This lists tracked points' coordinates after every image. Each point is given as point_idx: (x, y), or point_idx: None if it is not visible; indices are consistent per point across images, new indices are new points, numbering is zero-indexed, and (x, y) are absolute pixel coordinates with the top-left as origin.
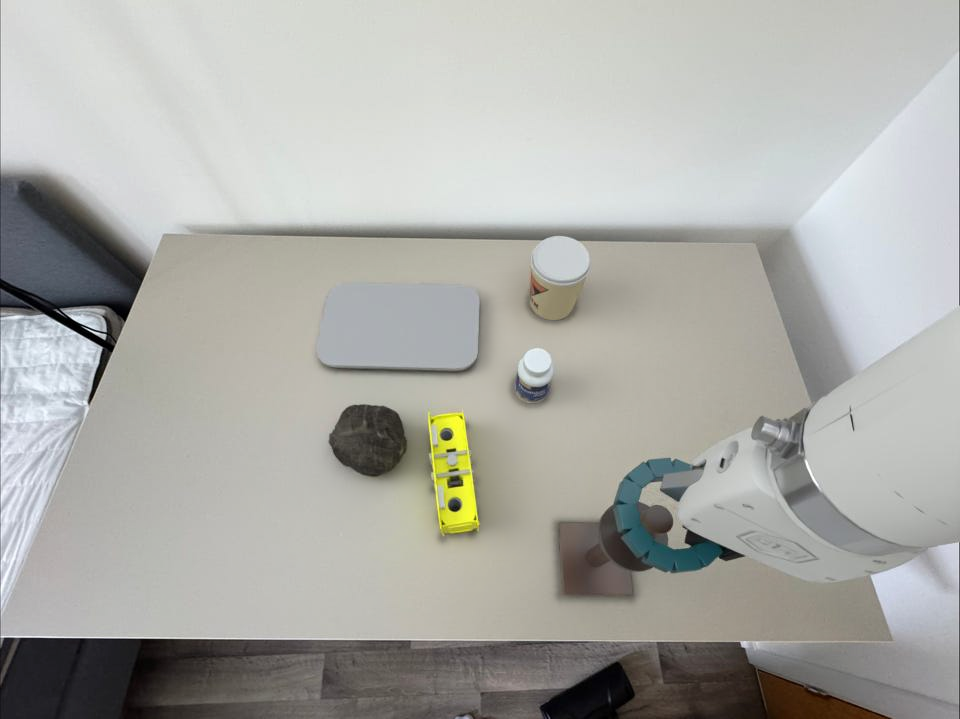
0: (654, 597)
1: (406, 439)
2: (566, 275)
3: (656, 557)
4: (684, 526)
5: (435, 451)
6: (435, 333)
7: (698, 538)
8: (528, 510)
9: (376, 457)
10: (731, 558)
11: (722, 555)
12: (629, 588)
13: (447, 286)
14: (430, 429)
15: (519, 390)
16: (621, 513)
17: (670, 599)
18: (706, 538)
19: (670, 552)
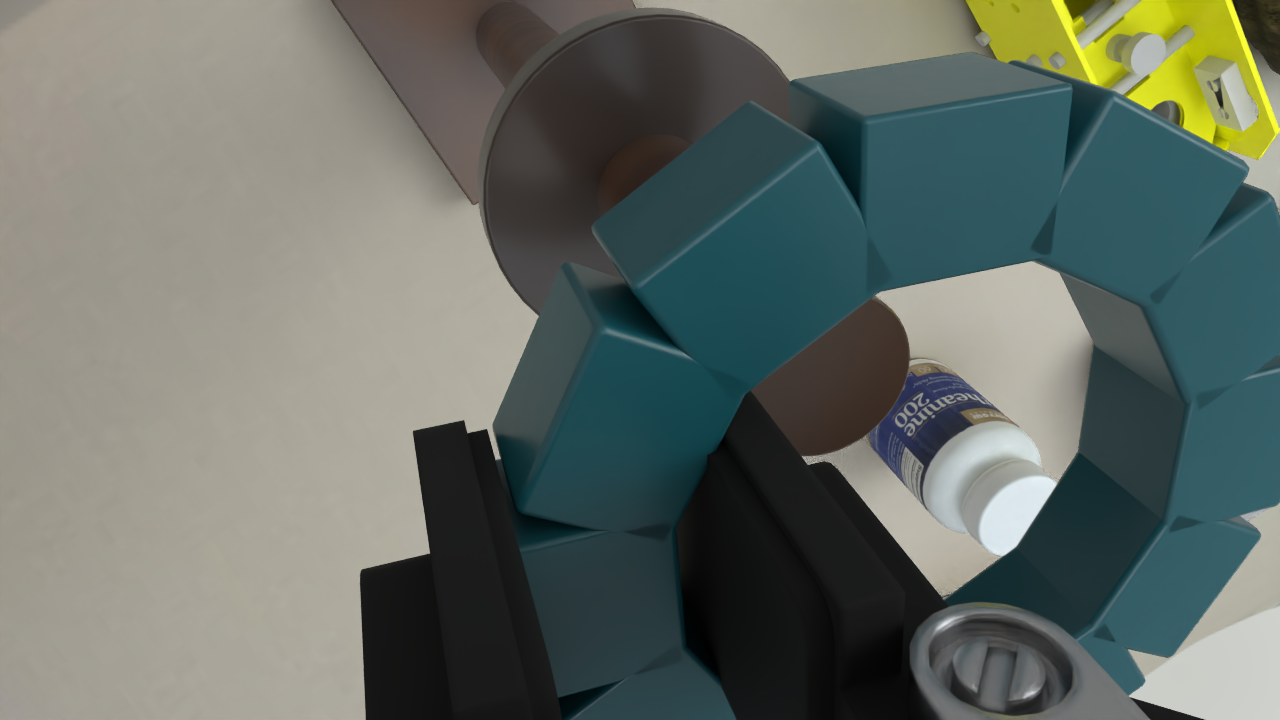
0: (247, 30)
1: (1276, 30)
2: None
3: (1011, 144)
4: (845, 484)
5: (1180, 49)
6: None
7: (837, 511)
8: (770, 55)
9: None
10: (439, 505)
11: (483, 466)
12: (350, 5)
13: (1245, 516)
14: (1265, 105)
15: (963, 383)
16: None
17: (193, 57)
18: (853, 584)
19: (910, 250)
